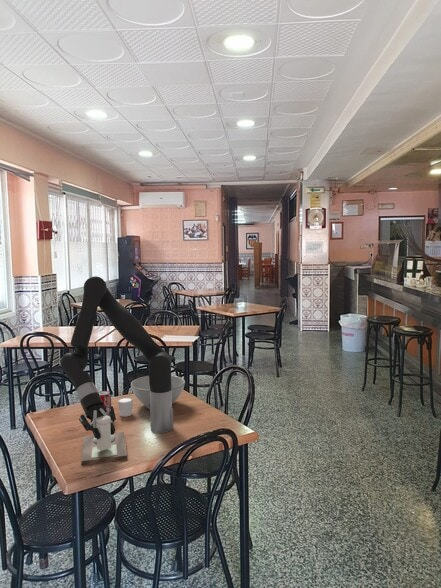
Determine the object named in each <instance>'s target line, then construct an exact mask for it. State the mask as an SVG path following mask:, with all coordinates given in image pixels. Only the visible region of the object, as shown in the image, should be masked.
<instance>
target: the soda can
mask: <svg viewBox="0 0 441 588" xmlns="http://www.w3.org/2000/svg"><path fill="white" fill-rule="evenodd" d="M98 392H99V395H100V397H101V399H102V401H103V405H104V406H105V407H106V408H110V407H111V406H112V396H111V394H110V391H108V390H102V391H101V390H100V391H98ZM106 414H107V415H108V416H109V414H108V412H107V411H106Z"/></svg>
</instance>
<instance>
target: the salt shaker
mask: <svg viewBox="0 0 441 588" xmlns="http://www.w3.org/2000/svg"><path fill="white" fill-rule="evenodd" d="M110 422H111V417H110V416H100V417H97V418H96V428H98V431H99V433H100V435H101V438H100V439H98V440H97V449H99V450H106V449H109V448H111V424H110Z"/></svg>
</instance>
